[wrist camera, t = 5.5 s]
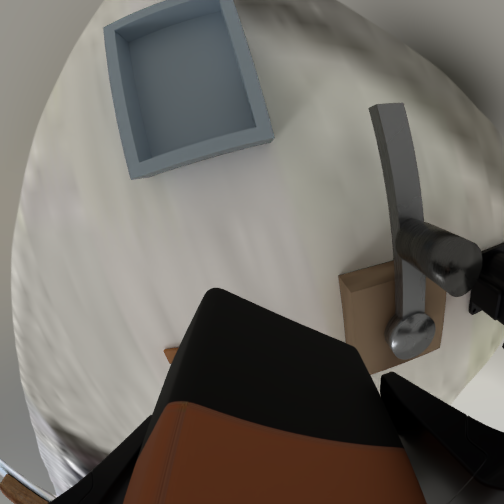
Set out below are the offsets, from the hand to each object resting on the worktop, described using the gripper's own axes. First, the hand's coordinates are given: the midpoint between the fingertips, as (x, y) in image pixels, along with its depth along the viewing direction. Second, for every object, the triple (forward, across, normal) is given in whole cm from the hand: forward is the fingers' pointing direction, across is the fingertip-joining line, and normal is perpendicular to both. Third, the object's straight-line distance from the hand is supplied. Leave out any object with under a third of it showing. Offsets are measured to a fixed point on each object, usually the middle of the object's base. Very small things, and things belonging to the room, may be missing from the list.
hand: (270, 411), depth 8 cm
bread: (+13, +128, +86) cm, 155 cm away
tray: (+12, +2, -14) cm, 19 cm away
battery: (+3, 0, 0) cm, 3 cm away
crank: (+9, -10, -1) cm, 13 cm away
